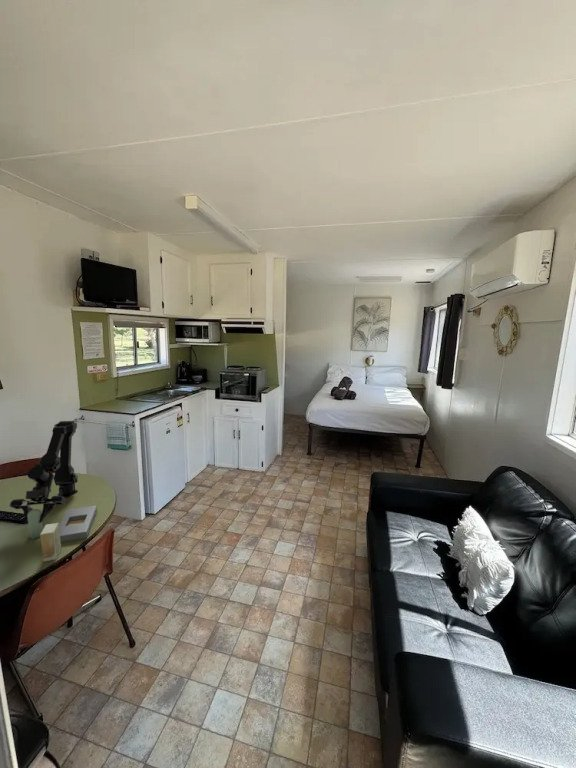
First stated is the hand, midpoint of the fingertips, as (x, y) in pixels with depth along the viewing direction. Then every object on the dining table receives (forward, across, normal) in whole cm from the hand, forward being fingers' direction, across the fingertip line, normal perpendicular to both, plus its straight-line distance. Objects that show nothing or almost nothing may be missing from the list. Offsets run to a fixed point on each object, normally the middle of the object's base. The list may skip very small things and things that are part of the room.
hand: (33, 523), depth 128 cm
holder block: (+1, +14, +8) cm, 16 cm away
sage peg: (+4, 0, +6) cm, 7 cm away
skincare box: (+14, +11, -5) cm, 19 cm away
